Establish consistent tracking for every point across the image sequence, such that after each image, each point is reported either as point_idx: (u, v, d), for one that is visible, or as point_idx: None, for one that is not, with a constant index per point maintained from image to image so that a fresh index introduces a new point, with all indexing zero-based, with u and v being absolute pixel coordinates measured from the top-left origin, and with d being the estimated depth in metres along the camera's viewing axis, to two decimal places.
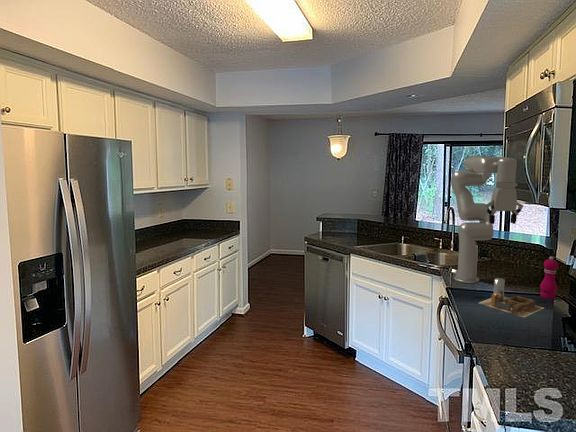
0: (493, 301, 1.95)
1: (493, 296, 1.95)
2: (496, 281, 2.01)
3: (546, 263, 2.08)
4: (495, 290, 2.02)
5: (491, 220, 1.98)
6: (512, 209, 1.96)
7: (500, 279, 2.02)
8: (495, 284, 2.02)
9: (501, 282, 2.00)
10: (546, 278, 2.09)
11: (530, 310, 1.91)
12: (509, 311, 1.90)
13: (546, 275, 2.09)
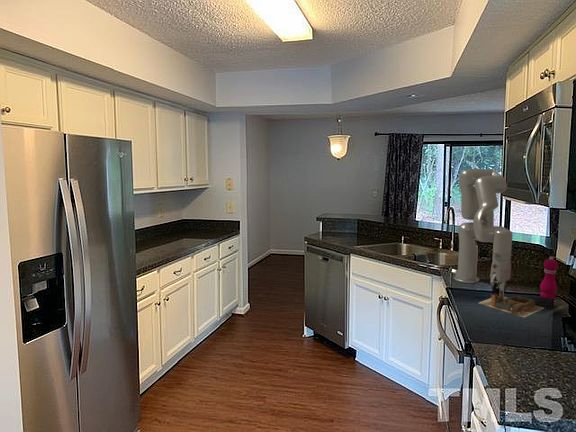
0: (493, 301, 1.95)
1: (493, 296, 1.95)
2: None
3: (546, 263, 2.08)
4: None
5: None
6: None
7: None
8: None
9: (501, 282, 2.00)
10: (546, 278, 2.09)
11: (530, 310, 1.91)
12: (509, 311, 1.90)
13: (546, 275, 2.09)
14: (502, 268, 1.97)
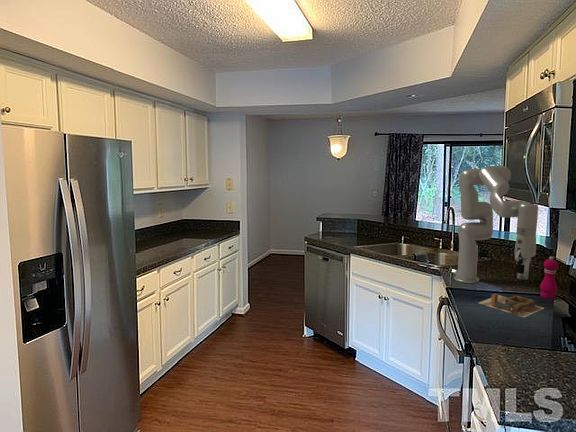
0: (493, 301, 1.95)
1: (493, 296, 1.95)
2: None
3: (546, 263, 2.08)
4: None
5: None
6: None
7: None
8: None
9: None
10: (546, 278, 2.09)
11: (530, 310, 1.91)
12: (509, 311, 1.90)
13: (546, 275, 2.09)
14: (527, 243, 1.87)
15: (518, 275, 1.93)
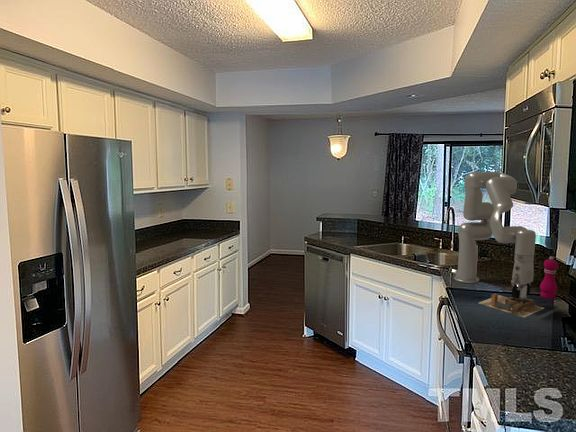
0: (493, 301, 1.95)
1: (493, 296, 1.95)
2: None
3: (546, 263, 2.08)
4: None
5: None
6: None
7: (522, 285, 1.94)
8: None
9: (523, 288, 1.92)
10: (546, 278, 2.09)
11: (530, 310, 1.91)
12: (509, 311, 1.90)
13: (546, 275, 2.09)
14: (525, 270, 1.89)
15: None
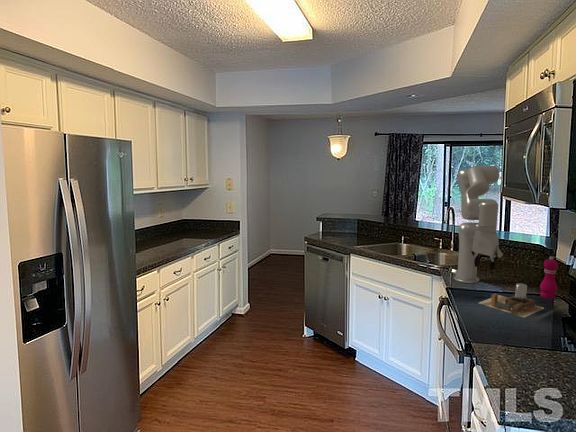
0: (493, 301, 1.95)
1: (493, 296, 1.95)
2: (518, 287, 1.93)
3: (546, 263, 2.08)
4: (517, 296, 1.94)
5: None
6: None
7: (522, 285, 1.94)
8: (517, 290, 1.94)
9: (523, 288, 1.92)
10: (546, 278, 2.09)
11: (530, 310, 1.91)
12: (509, 311, 1.90)
13: (546, 275, 2.09)
14: (476, 238, 1.97)
15: None
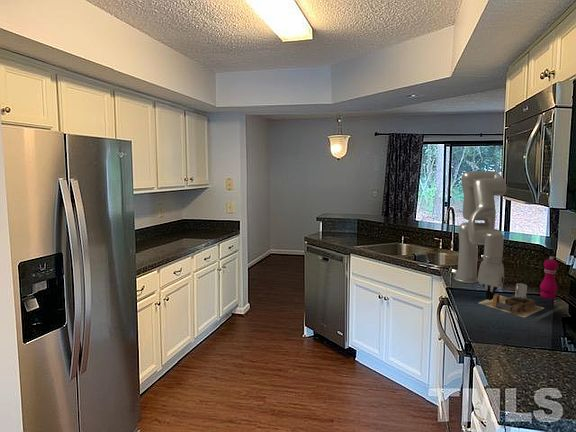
0: (495, 302, 1.94)
1: (495, 297, 1.94)
2: (518, 287, 1.93)
3: (546, 263, 2.08)
4: (517, 296, 1.94)
5: None
6: None
7: (522, 285, 1.94)
8: (517, 290, 1.94)
9: (523, 288, 1.92)
10: (546, 278, 2.09)
11: (530, 310, 1.91)
12: (509, 311, 1.90)
13: (546, 275, 2.09)
14: (481, 268, 1.97)
15: None
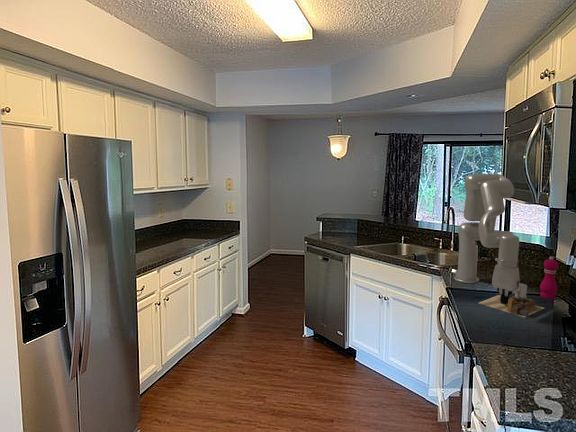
0: (510, 306, 1.89)
1: (510, 301, 1.89)
2: None
3: (546, 263, 2.08)
4: (517, 296, 1.94)
5: None
6: None
7: (522, 285, 1.94)
8: None
9: (523, 288, 1.92)
10: (546, 278, 2.09)
11: (530, 310, 1.91)
12: (509, 311, 1.90)
13: (546, 275, 2.09)
14: (496, 272, 1.91)
15: None
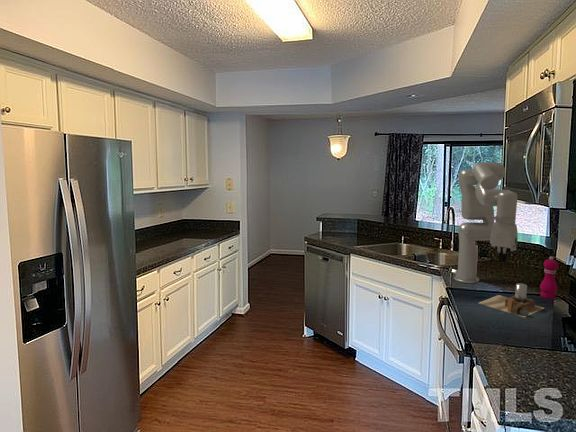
0: (510, 306, 1.89)
1: (510, 301, 1.89)
2: (518, 287, 1.93)
3: (546, 263, 2.08)
4: (517, 296, 1.94)
5: None
6: None
7: (522, 285, 1.94)
8: (517, 290, 1.94)
9: (523, 288, 1.92)
10: (546, 278, 2.09)
11: (530, 310, 1.91)
12: (509, 311, 1.90)
13: (546, 275, 2.09)
14: (494, 230, 1.90)
15: None
